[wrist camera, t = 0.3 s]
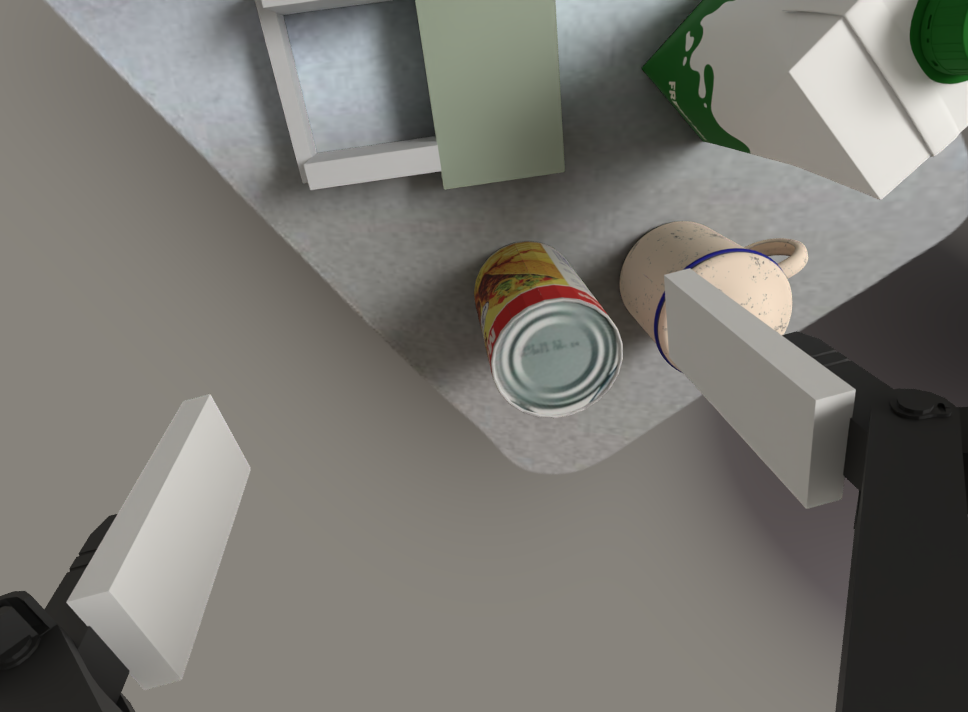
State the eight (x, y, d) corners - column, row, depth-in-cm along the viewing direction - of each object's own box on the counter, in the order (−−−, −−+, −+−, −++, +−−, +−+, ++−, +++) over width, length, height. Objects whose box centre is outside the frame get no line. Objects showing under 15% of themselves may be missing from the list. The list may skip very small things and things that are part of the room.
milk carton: (802, 57, 39) (1125, 51, 21) (698, 162, 41) (909, 235, 24) (727, -51, 36) (1034, -165, 18) (619, 70, 38) (795, 75, 20)
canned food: (452, 295, 44) (463, 368, 33) (524, 218, 42) (560, 271, 31) (524, 355, 47) (555, 440, 36) (595, 286, 45) (650, 355, 34)
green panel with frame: (251, -43, 33) (225, -59, 29) (539, -80, 34) (557, -102, 30) (313, 200, 40) (300, 217, 35) (555, 164, 40) (572, 177, 36)
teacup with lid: (639, 346, 48) (700, 424, 37) (596, 254, 44) (651, 313, 33) (776, 276, 46) (880, 337, 36) (744, 173, 42) (851, 209, 32)
